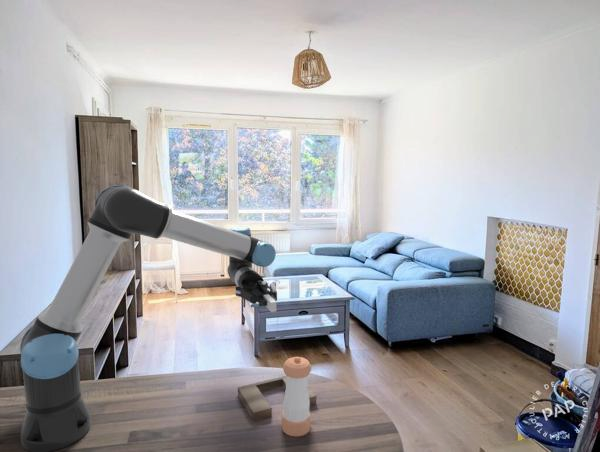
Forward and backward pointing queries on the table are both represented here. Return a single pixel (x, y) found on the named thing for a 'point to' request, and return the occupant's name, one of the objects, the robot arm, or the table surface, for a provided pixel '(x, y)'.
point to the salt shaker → (296, 397)
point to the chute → (256, 400)
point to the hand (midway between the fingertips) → (273, 307)
